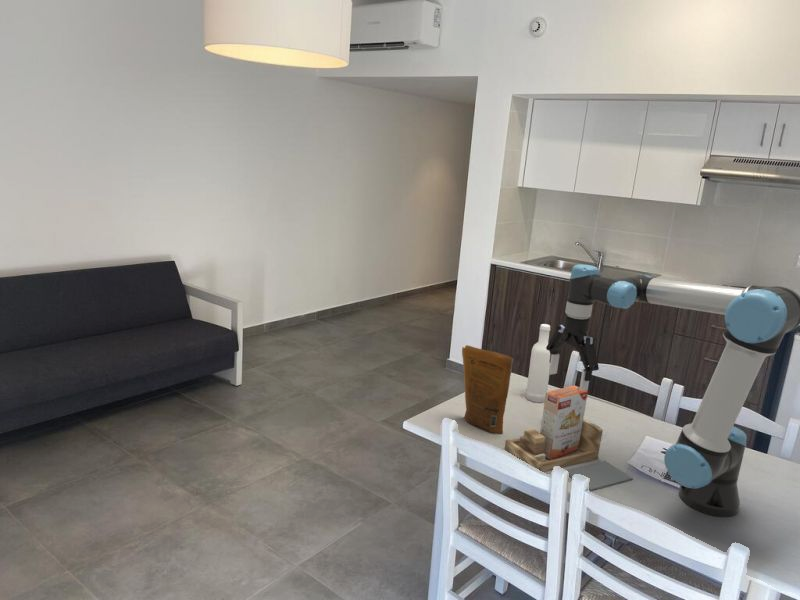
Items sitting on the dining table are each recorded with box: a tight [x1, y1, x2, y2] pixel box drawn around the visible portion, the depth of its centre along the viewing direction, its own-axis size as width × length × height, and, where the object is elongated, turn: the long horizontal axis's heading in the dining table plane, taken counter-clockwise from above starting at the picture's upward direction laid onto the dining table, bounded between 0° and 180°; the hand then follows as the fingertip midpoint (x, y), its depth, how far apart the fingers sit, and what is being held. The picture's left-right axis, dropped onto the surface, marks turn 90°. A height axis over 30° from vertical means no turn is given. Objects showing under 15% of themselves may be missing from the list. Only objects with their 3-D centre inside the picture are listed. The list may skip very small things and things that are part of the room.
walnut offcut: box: [519, 435, 545, 456], centre depth 184 cm, size 7×4×3 cm, turn 31°
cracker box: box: [539, 384, 589, 461], centre depth 188 cm, size 14×6×21 cm, turn 126°
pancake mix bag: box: [461, 344, 514, 435], centre depth 201 cm, size 7×19×28 cm, turn 46°
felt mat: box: [566, 460, 634, 492], centre depth 177 cm, size 11×17×1 cm, turn 118°
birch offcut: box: [519, 446, 546, 462], centre depth 185 cm, size 8×4×3 cm, turn 27°
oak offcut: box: [523, 428, 545, 446], centre depth 183 cm, size 6×4×2 cm, turn 23°
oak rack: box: [504, 418, 603, 473], centre depth 187 cm, size 16×24×10 cm, turn 118°
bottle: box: [525, 323, 551, 404], centre depth 228 cm, size 8×8×30 cm
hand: (567, 381), depth 185 cm, fingers open, 13 cm apart
